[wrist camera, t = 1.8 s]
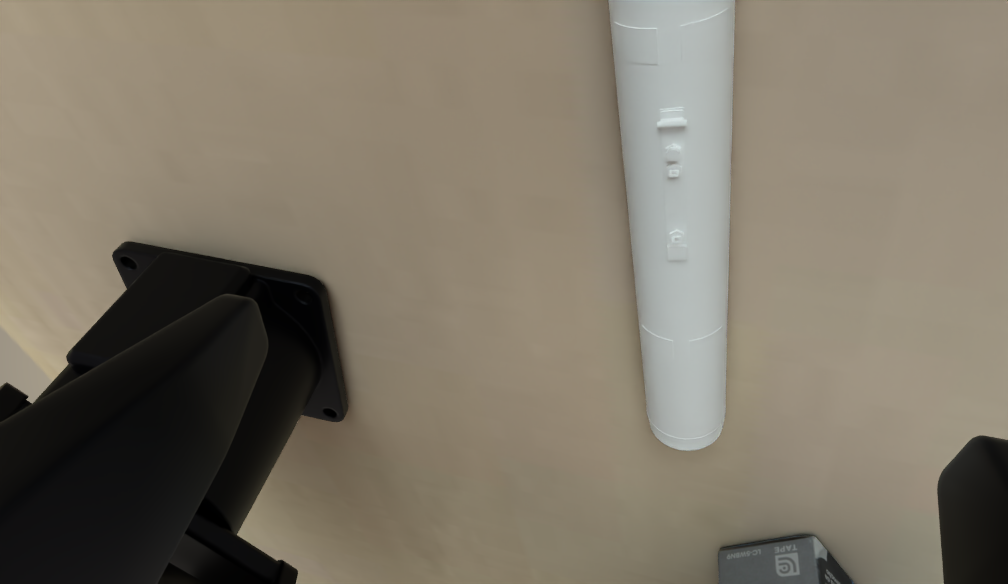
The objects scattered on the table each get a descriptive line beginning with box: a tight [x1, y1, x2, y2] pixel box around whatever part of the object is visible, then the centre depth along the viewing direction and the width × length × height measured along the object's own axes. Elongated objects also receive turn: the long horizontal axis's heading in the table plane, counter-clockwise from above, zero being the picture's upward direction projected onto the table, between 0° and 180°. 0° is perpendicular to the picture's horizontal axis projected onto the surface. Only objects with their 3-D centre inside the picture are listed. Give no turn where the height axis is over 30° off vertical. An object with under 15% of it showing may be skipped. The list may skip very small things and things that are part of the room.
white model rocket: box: [608, 0, 735, 451], centre depth 13 cm, size 18×2×2 cm, turn 12°
